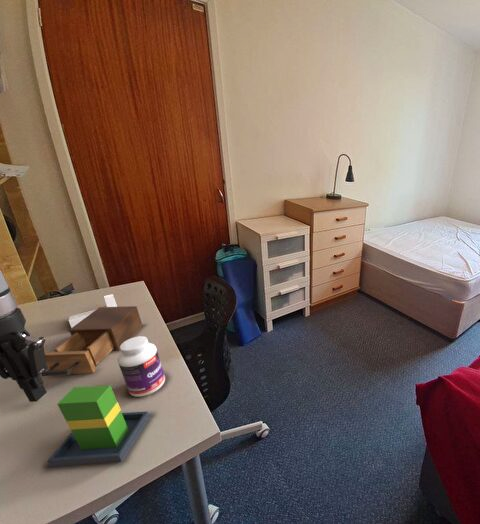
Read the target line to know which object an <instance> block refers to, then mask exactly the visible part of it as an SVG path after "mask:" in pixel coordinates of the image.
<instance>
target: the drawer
mask: <svg viewBox="0 0 480 524" xmlns="http://www.w3.org/2000/svg"><path fill="white" fill-rule="evenodd" d="M114 348H115V345H114V342H113V340H112V337H111V334H110V332H109V331H93V332H76V333H74V334H73V335H72V336H71V335H70V336H69V337H68V338H66V339H65V340H64V341H62V343H60V344H59V345H58V346H57V347H54V348H53V351H46V352H45V357H46V364H47V369H46V370H45V371H44V372H43V373H42V374H40V376H41V377H58V376H70V375H77V374H94V373H95V372H96V371H97V368H96V366H98V365H99V364H100V363H101V362H102V361H103V360H105V359H106V357H107V356H109V354H110V353H111V352H113V351H112V350H113V349H114Z"/></svg>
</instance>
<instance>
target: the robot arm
mask: <svg viewBox="0 0 480 524" xmlns="http://www.w3.org/2000/svg"><path fill="white" fill-rule="evenodd" d="M26 323H27V320H26V317H25V315H24V313H23V311H22V310H21V308H20V307H19V305H18V302H17V300H16V299H15V297H14V294H13V293H12V291H11V288H10V287H9V284H8V282H7V280H6V279H5V276H4V274H3V272H2V270H1V269H0V377H1V378H2V379H5V380H7V379H8V378H11V380H12V381H15V382H16V383H17V385H18V387H19V388H20V389H21V390H22V391H23V393H24V394H25V396H26V398H27V400H28V401H29V403H33V402H38V401H39V400H40V399H41V398H43V396H45V395H46V394H47V393H48V391H47V390H46V387H45V385H44V380H43V378H42V376H41V374H42V373H43V372H44V371H45V370H48V365H47V363H46V357H45V353H46V352H45V347H44V345H45V342H46V340H47V339H46V338H45V337H43V336H40V337H38V338H36V337H34V336H31V333H30V332H29V331H28V330H26V329H25V326H26Z"/></svg>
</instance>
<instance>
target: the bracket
mask: <svg viewBox="0 0 480 524" xmlns="http://www.w3.org/2000/svg"><path fill="white" fill-rule="evenodd" d="M103 297H104V298H103V299H104V301H105V304H106V306H105V307H118V304H117V301H116V299H115V296H114V294H113V293H110V294H106V295H103ZM97 309H98V308H95V309H92V310H88V311H84V312H81V313H76V314H73V315H70V316H69V317H68V323H69V325H70V329H71V328H72V327H74V326H75V325H76V324H78V323H79V322H80V321H82V320H83V319H84V318H86V317H87V316H89V315H90V314H91V313H93V312H94V311H95V310H97Z"/></svg>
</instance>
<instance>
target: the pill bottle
mask: <svg viewBox="0 0 480 524" xmlns="http://www.w3.org/2000/svg"><path fill="white" fill-rule="evenodd" d="M117 364H118V366H119V369H120V371H121V374H122V377H123V380H124V383H125V385H126V387H127V391H128V393H129V394H130V395H131V396H133V397H137V398H138V397H139V398H140V397H141V398H142V397H145V396H148V395H149V396H150V395H151V394H153V393H155V392H157V391H158V390H159V389H161V388H162V386H163V385H164V384H165V381H166V374H165V372H164V368H163V366H162V362H161V359H160V355H159V353H158V349H157V347H156V345H155V344H154V343H151V342H149V340H148V338H147V337H146V336H143V335H141V336H140V335H138V336H133V337H132V338H130V339H128V340H126V341H125V342H123V343H122V344H121V346H120V353H119V355H118V357H117Z"/></svg>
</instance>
